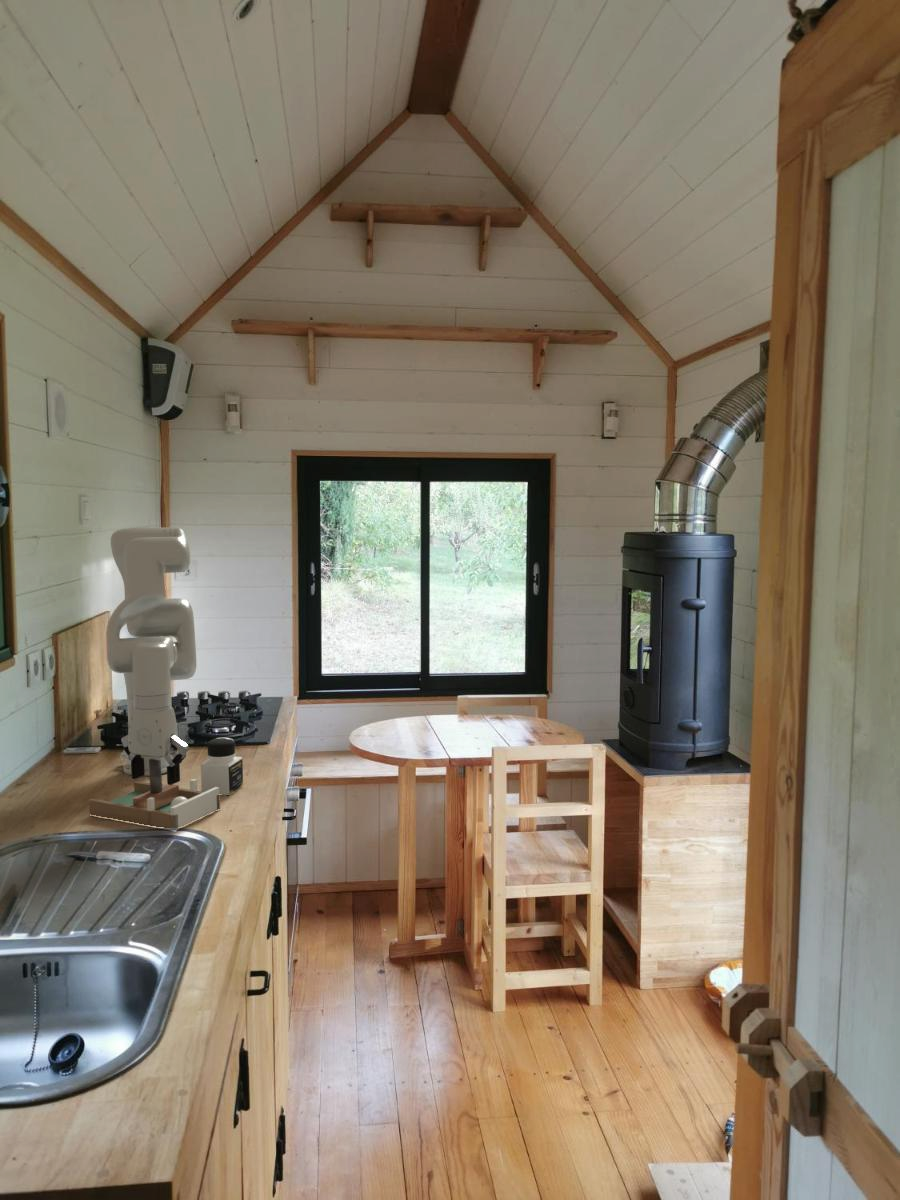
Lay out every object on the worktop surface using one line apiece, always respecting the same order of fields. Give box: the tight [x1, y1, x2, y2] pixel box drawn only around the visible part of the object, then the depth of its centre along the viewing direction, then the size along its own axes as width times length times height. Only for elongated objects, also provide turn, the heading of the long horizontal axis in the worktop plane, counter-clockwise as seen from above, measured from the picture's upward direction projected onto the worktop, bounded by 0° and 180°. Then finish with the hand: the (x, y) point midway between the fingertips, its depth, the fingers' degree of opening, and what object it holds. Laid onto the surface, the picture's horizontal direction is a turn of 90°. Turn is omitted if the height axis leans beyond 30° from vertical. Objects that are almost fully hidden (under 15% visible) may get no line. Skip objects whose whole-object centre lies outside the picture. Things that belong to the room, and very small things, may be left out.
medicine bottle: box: [200, 737, 244, 796], centre depth 200 cm, size 7×7×12 cm
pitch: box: [88, 778, 221, 828], centre depth 186 cm, size 23×14×6 cm, turn 66°
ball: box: [170, 796, 188, 807], centre depth 183 cm, size 4×4×4 cm
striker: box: [133, 758, 180, 809], centre depth 185 cm, size 3×10×10 cm, turn 156°
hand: (155, 780), depth 185 cm, fingers open, 9 cm apart
